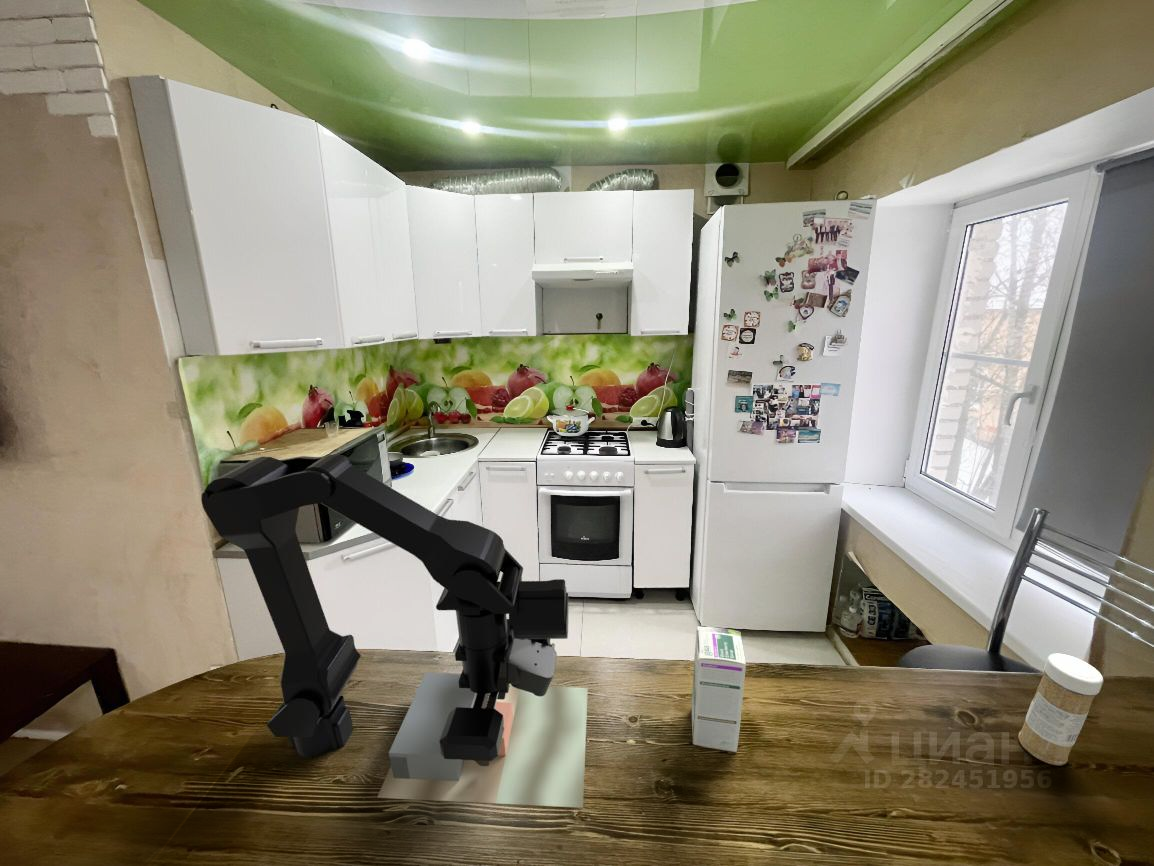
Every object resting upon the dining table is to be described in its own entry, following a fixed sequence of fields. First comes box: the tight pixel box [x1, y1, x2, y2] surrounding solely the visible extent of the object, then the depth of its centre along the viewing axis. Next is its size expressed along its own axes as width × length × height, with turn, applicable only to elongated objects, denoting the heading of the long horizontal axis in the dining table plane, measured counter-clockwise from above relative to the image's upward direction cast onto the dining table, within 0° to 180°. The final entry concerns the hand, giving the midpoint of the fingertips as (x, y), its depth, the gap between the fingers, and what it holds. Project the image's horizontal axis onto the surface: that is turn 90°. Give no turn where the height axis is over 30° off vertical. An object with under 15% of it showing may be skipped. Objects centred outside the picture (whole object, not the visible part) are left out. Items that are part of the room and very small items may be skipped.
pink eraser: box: [485, 702, 513, 756], centre depth 59 cm, size 10×5×3 cm, turn 87°
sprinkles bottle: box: [1017, 653, 1104, 766], centre depth 55 cm, size 5×5×14 cm
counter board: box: [377, 684, 589, 809], centre depth 60 cm, size 24×16×1 cm, turn 87°
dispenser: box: [388, 672, 477, 781], centre depth 59 cm, size 9×12×4 cm
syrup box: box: [691, 625, 747, 753], centre depth 59 cm, size 6×6×14 cm
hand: (493, 729), depth 59 cm, fingers open, 9 cm apart
